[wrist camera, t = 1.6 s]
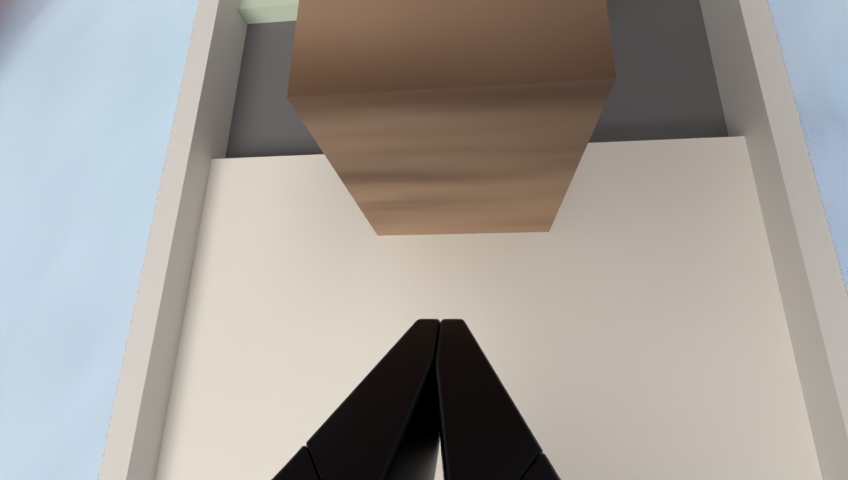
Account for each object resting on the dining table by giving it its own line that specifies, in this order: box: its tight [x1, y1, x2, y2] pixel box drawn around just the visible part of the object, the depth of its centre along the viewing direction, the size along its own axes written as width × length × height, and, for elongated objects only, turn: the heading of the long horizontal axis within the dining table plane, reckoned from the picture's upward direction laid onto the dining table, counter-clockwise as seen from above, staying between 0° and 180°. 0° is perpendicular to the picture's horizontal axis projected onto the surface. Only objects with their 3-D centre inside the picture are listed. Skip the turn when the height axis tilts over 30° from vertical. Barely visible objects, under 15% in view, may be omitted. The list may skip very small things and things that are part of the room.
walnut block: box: [287, 0, 616, 236], centre depth 18 cm, size 9×8×11 cm
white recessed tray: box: [98, 0, 848, 480], centre depth 23 cm, size 34×29×3 cm
